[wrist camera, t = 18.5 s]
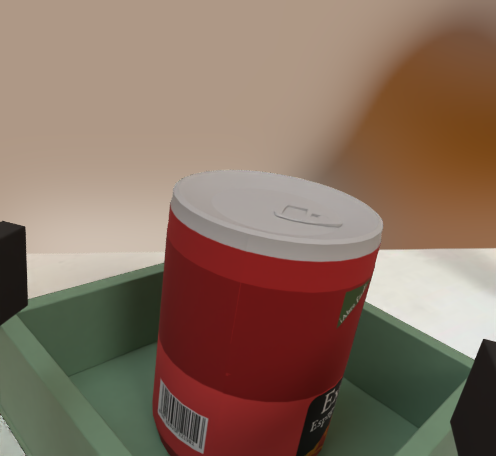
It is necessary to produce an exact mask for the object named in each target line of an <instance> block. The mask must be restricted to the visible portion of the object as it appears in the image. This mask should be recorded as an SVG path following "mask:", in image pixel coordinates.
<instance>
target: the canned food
mask: <svg viewBox="0 0 496 456" xmlns="http://www.w3.org/2000/svg"><path fill="white" fill-rule="evenodd" d="M382 230H383V222H382V219H381V218H380V216H379V215H378V214H377V213H376V212H375V211H374V210H372V209H371V208H370V207H369V206H367V205H366V204H365V203H363V202H361V201H360V200H358V199H356V198H355V197H352V196H350V195H348V194H346V193H344V192H341V191H339V190H336V189H333V188H331V187H328V186H325V185H322V184H318V183H315V182H312V181H308V180H303V179H300V178H295V177H290V176H285V175H280V174H273V173H267V172H258V171H247V170H216V171H206V172H201V173H197V174H192V175H190V176H187V177H184V178H182V179H181V180H179V181H178V182H177V183H176V184H175V186H174V188H173V197H172V200H171V202H170V212H169V222H168V228H167V238H166V250H165V261H164V272H163V284H162V296H161V308H160V319H159V331H158V343H157V354H156V366H155V378H154V389H153V401H152V404H153V417H154V420H155V423H156V427H157V430H158V433H159V436H160V440H161V442H162V444H163V445H164V447H165V449H166V450H167V452H168V454H169V455H170V456H317V455H318V454H319V452H320V451H321V449H322V447H323V444H324V441H325V438H326V435H327V432H328V428H329V425H330V421H331V418H332V414H333V411H334V407H335V404H336V400H337V397H338V393H339V390H340V386H341V383H342V379H343V376H344V372H345V369H346V365H347V362H348V358H349V355H350V351H351V348H352V344H353V341H354V337H355V334H356V331H357V327H358V324H359V320H360V317H361V313H362V310H363V306H364V303H365V299H366V296H367V292H368V289H369V285H370V282H371V278H372V275H373V271H374V268H375V262H376V258H377V254H378V251H379V247H380V244H381V233H382Z"/></svg>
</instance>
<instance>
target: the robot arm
mask: <svg viewBox="0 0 496 456" xmlns="http://www.w3.org/2000/svg"><path fill="white" fill-rule="evenodd" d="M26 306H28V292H27V261H26V232H25V226H21V225H17V224H13V223H9V222H5V221H2V222H0V326H1V325H2V324H4V323H5V322H6V321H8V320H9V319H10V318H12V317H13V316H14V315H16V314H17V313H18V312H20V311H21V310H22V309H24V308H25V307H26ZM450 424H451V428H452V432H453V436H454V441H455V445H456V449H457V453H458V456H496V342H494V341H490V340H486V339H483V341H482V343H481V346H480V348H479V351H478V353H477V356H476V358H475V361H474V363H473V365H472V368H471V370H470V373H469V375H468V378H467V380H466V383H465V385H464V388H463V390H462V393H461V395H460V398H459V400H458V403H457V405H456V407H455V410H454V412H453V415H452V417H451V420H450Z"/></svg>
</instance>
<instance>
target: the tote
mask: <svg viewBox="0 0 496 456" xmlns="http://www.w3.org/2000/svg"><path fill="white" fill-rule="evenodd" d="M163 272H164V263H161V264H158V265H154V266H150V267H146V268H143V269H139V270H135V271H132V272H128V273H124V274H120V275H117V276H113V277H109V278H106V279H102V280H98V281H94V282H91V283H87V284H83V285H80V286H76V287H72V288H68V289H65V290H61V291H57V292H54V293H50V294H46V295H43V296H39V297H35V298H31V299H28V306H26V307H25V308H24V309H22V310H21V311H20V312H18V313H17V314H16V315H14V316H13V317H12V318H10V319H9V320H8V321H6V322H5V323H4V324H2V325H1V326H0V413H1V415H2V417H3V418H4V420H5V421H6V423H7V425H8V426H9V428H10V430H11V431H12V433H13V434H14V436H15V438H16V439H17V441H18V442H19V444H20V446H21V447H22V449H23V451H24V452H25V454H26V455H27V456H170V455H169V454H168V452H167V450H166V449H165V447H164V445H163V444H162V442H161V440H160V436H159V433H158V430H157V427H156V423H155V420H154V417H153V404H152V401H153V389H154V378H155V366H156V354H157V343H158V331H159V319H160V308H161V296H162V284H163ZM474 361H475V360H474V359H472V358H470V357H468V356H466V355H464V354H462V353H461V352H459V351H457V350H455V349H453V348H451V347H449V346H447V345H446V344H444V343H442V342H440V341H438V340H436V339H434V338H433V337H431V336H429V335H427V334H425V333H423V332H421V331H420V330H418V329H416V328H414V327H412V326H410V325H408V324H406V323H405V322H403V321H401V320H399V319H397V318H395V317H393V316H392V315H390V314H388V313H386V312H384V311H382V310H380V309H379V308H377V307H375V306H373V305H371V304H369V303H367V302H365V303H364V306H363V310H362V313H361V317H360V320H359V324H358V327H357V331H356V334H355V337H354V341H353V344H352V348H351V351H350V355H349V358H348V362H347V365H346V369H345V372H344V376H343V379H342V383H341V386H340V390H339V393H338V397H337V400H336V404H335V407H334V411H333V414H332V418H331V421H330V425H329V428H328V432H327V435H326V438H325V441H324V444H323V447H322V449H321V451H320V452H319V454H318V455H317V456H458V453H457V449H456V445H455V441H454V436H453V432H452V428H451V424H450V420H451V417H452V415H453V412H454V410H455V407H456V405H457V403H458V400H459V398H460V395H461V393H462V390H463V388H464V385H465V383H466V380H467V378H468V375H469V373H470V370H471V368H472V365H473V363H474Z"/></svg>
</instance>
